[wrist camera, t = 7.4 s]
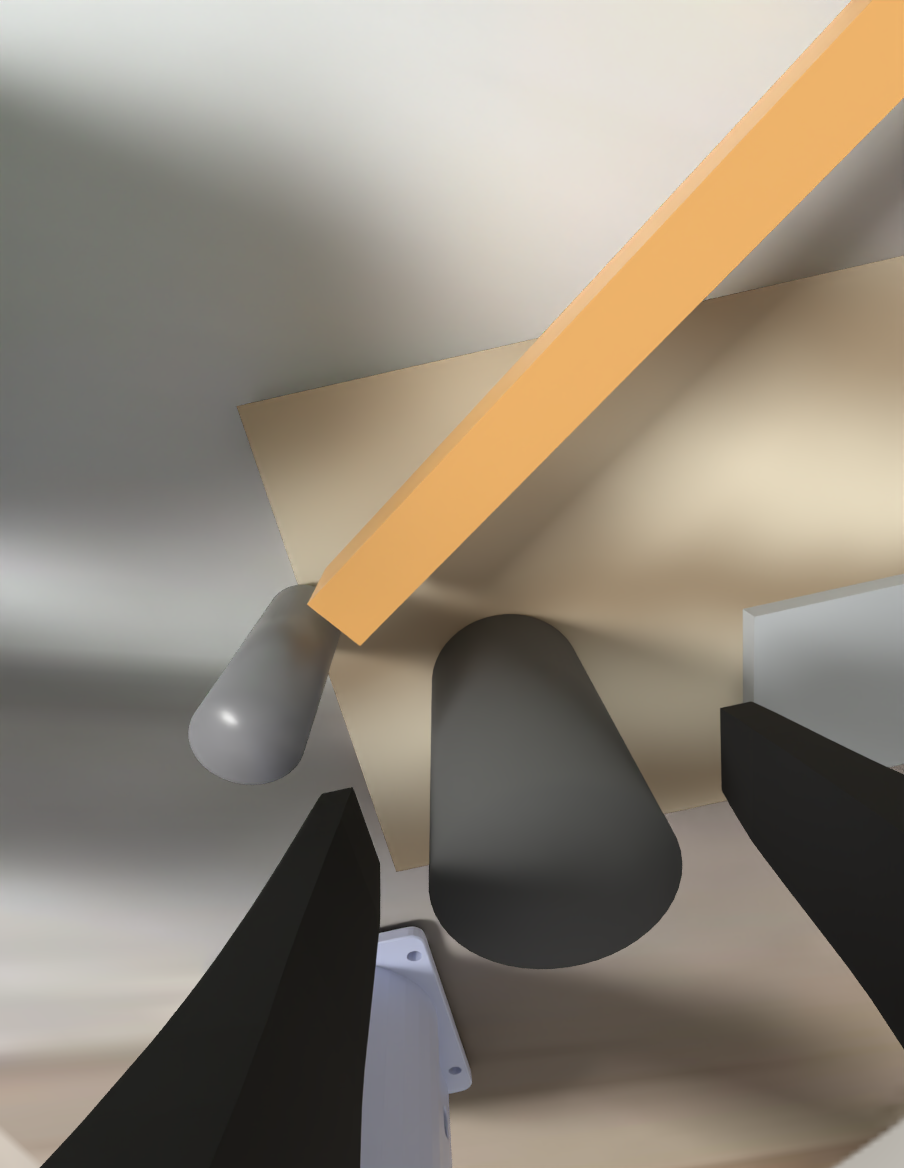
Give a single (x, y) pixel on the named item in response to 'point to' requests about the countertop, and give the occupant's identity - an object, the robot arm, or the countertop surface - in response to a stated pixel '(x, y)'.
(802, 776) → the robot arm
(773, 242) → the countertop surface
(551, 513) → the board
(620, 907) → the dark gray cylinder
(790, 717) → the mat
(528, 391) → the long orange wooden stick
